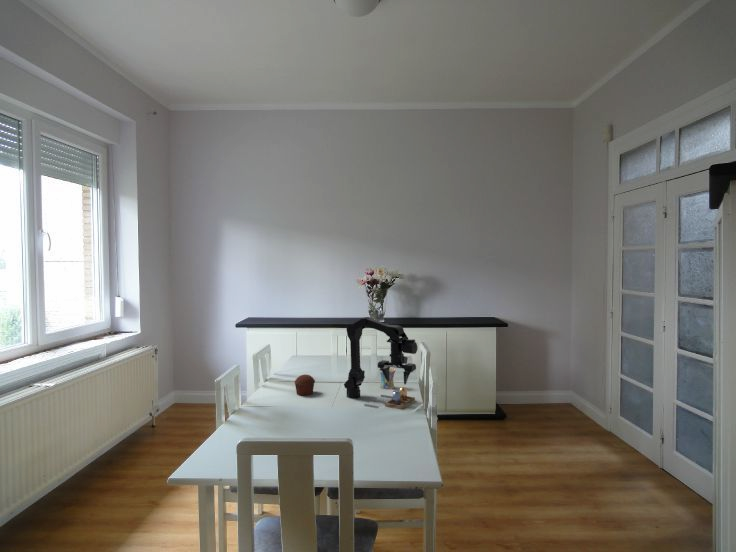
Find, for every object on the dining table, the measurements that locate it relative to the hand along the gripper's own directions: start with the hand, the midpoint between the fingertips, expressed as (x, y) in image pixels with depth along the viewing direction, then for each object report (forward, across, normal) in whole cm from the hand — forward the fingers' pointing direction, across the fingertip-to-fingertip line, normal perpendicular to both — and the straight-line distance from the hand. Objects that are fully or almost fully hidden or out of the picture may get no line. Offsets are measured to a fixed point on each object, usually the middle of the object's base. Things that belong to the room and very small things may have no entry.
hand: (396, 383), depth 225 cm
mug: (+12, +18, -26) cm, 34 cm away
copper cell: (+11, 0, -8) cm, 13 cm away
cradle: (+12, +10, -1) cm, 16 cm away
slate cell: (+11, 0, 0) cm, 11 cm away
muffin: (+12, +54, +3) cm, 56 cm away
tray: (+12, 0, -4) cm, 13 cm away
